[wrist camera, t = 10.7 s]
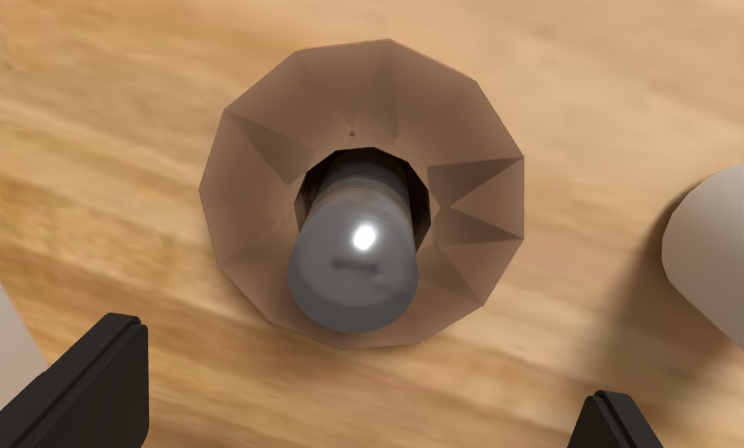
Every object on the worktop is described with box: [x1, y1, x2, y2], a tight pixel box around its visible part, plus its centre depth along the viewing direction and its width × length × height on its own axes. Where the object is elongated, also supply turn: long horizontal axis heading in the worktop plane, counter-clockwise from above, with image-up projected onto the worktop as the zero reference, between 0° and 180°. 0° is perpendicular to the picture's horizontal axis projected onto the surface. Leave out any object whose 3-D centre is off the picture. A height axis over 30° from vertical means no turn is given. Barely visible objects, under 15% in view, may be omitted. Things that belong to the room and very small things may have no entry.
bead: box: [199, 39, 524, 350], centre depth 22 cm, size 13×13×4 cm
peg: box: [288, 147, 418, 333], centre depth 19 cm, size 4×4×9 cm
